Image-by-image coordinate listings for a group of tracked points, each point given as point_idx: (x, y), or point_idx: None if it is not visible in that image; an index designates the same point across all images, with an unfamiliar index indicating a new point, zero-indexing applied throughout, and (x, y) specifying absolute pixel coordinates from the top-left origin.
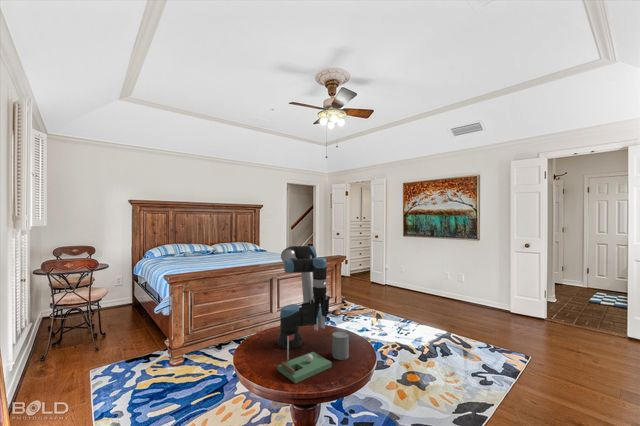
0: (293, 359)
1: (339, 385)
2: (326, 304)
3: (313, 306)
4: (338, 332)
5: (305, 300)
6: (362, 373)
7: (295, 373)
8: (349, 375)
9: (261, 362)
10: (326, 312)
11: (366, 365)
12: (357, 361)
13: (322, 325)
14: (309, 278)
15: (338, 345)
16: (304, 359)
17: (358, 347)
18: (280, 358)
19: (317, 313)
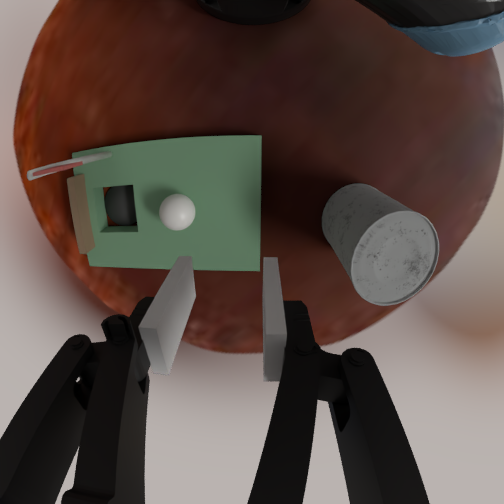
0: (138, 145)
1: (203, 344)
2: (358, 502)
3: (45, 488)
4: (416, 228)
5: None
6: None
7: (99, 244)
8: None
9: (70, 72)
10: (330, 401)
11: (356, 324)
12: None
13: (263, 293)
14: None
15: (342, 264)
16: (177, 174)
17: (449, 222)
18: (133, 72)
19: (141, 422)
